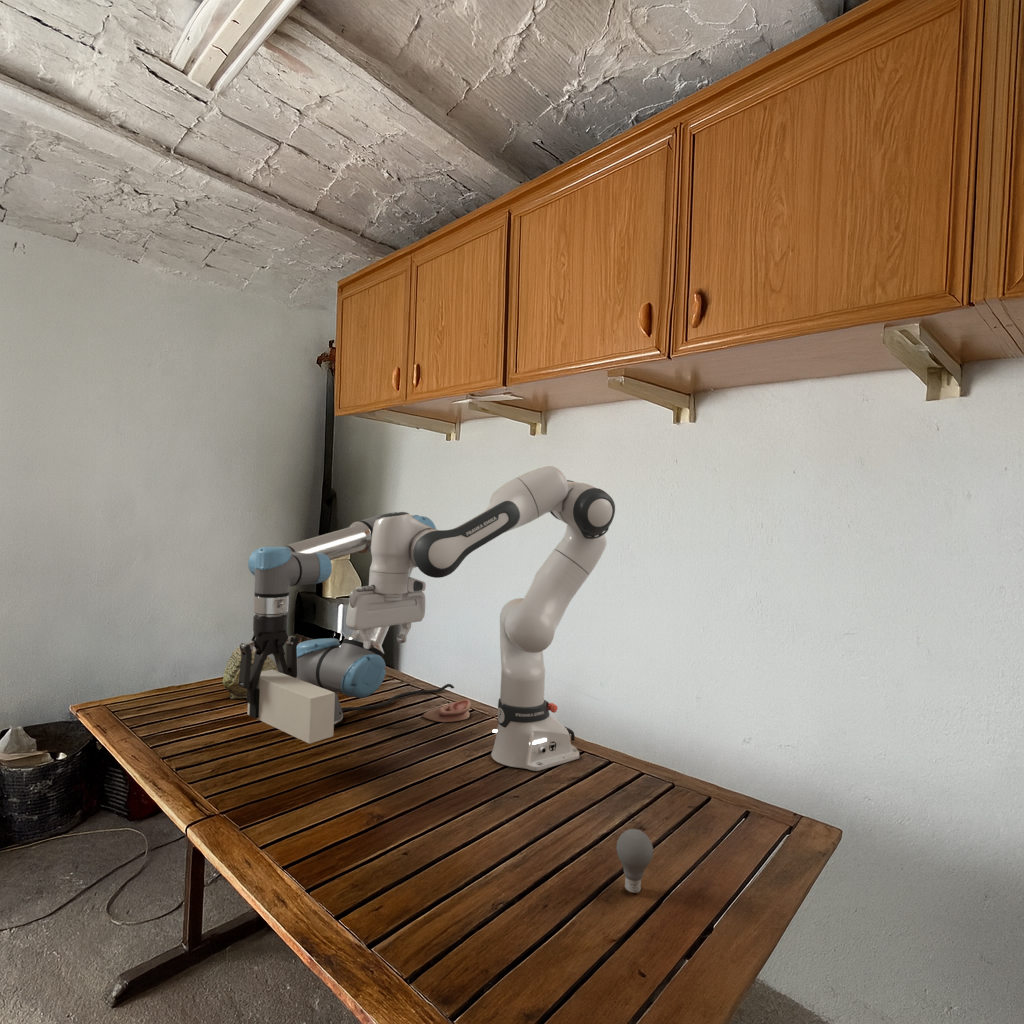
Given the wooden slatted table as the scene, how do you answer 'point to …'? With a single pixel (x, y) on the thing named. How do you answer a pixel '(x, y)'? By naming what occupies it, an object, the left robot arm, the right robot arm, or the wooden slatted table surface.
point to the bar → (295, 706)
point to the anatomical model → (450, 712)
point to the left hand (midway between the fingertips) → (267, 713)
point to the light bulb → (634, 857)
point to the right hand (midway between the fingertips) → (385, 645)
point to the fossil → (234, 670)
